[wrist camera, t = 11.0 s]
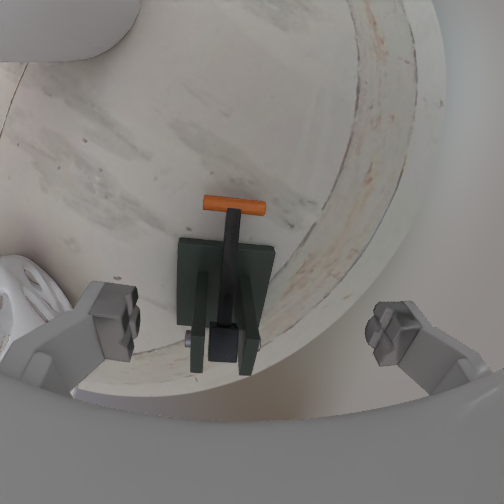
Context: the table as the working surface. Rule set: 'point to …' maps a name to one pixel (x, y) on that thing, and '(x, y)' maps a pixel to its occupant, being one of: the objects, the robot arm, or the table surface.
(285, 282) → the table surface
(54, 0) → the bottle
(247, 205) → the switch lever
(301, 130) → the table surface
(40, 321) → the decorative ball
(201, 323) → the switch bracket
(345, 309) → the table surface
